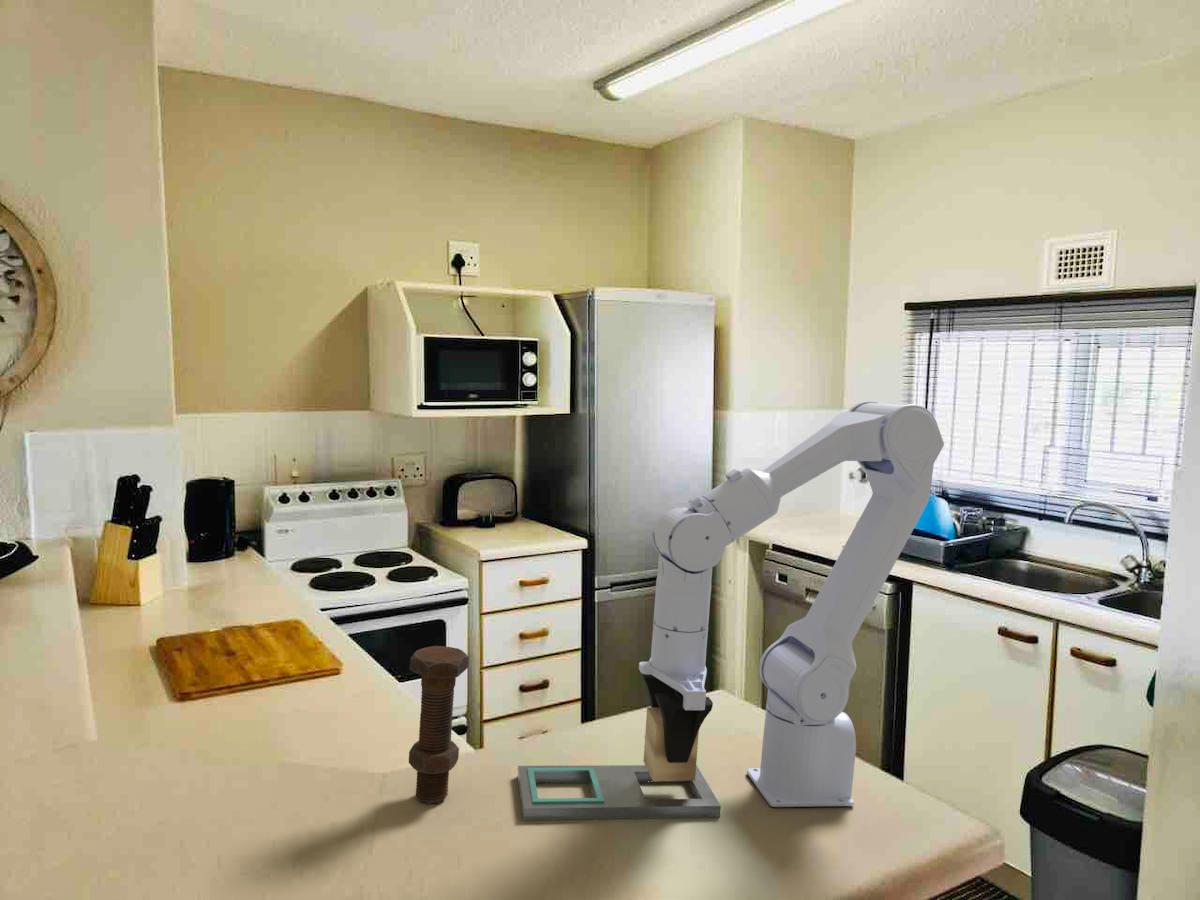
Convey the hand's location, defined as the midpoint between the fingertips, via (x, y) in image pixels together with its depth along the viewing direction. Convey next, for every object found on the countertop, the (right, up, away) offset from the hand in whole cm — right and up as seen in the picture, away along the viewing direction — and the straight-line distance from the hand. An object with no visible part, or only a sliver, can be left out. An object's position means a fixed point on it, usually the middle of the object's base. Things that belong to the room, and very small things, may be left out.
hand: (671, 750), depth 89 cm
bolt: (-25, -4, -4) cm, 25 cm away
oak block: (0, -2, 0) cm, 2 cm away
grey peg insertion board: (-6, -5, -1) cm, 8 cm away
